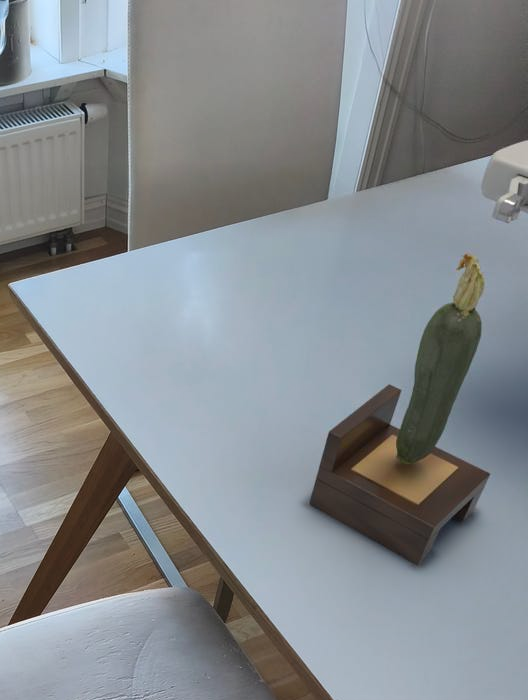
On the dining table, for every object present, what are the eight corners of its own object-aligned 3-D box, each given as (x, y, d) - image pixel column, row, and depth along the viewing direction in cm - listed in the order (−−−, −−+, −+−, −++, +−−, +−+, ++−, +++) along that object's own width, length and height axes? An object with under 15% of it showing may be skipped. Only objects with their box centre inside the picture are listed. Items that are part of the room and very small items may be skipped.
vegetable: (434, 480, 81) (519, 273, 65) (388, 484, 81) (462, 277, 65) (418, 449, 83) (495, 244, 68) (373, 453, 83) (440, 248, 68)
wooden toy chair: (472, 513, 85) (507, 438, 78) (417, 567, 81) (448, 493, 74) (365, 457, 91) (389, 383, 84) (308, 505, 87) (328, 431, 80)
